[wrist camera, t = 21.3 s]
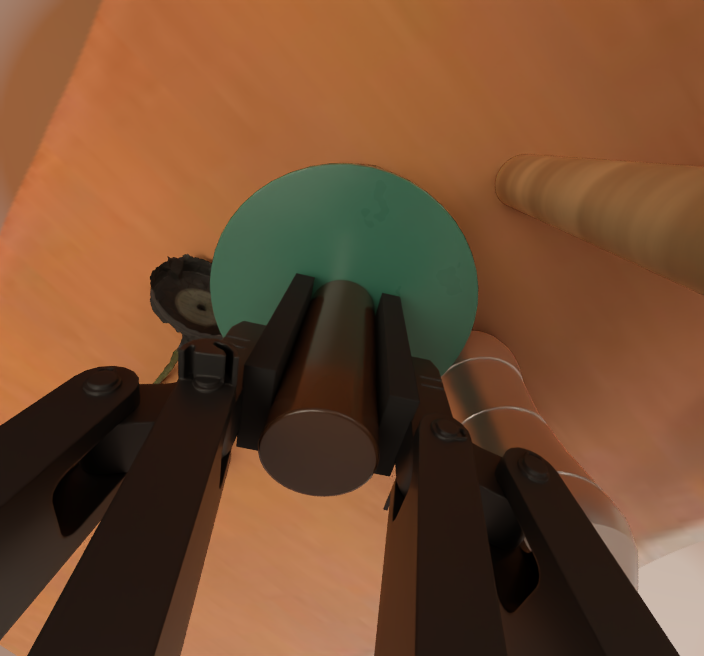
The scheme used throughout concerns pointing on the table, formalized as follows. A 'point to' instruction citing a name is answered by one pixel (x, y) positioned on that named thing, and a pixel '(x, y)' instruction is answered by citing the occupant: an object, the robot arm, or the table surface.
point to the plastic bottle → (527, 434)
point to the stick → (617, 208)
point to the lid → (341, 306)
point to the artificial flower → (184, 301)
